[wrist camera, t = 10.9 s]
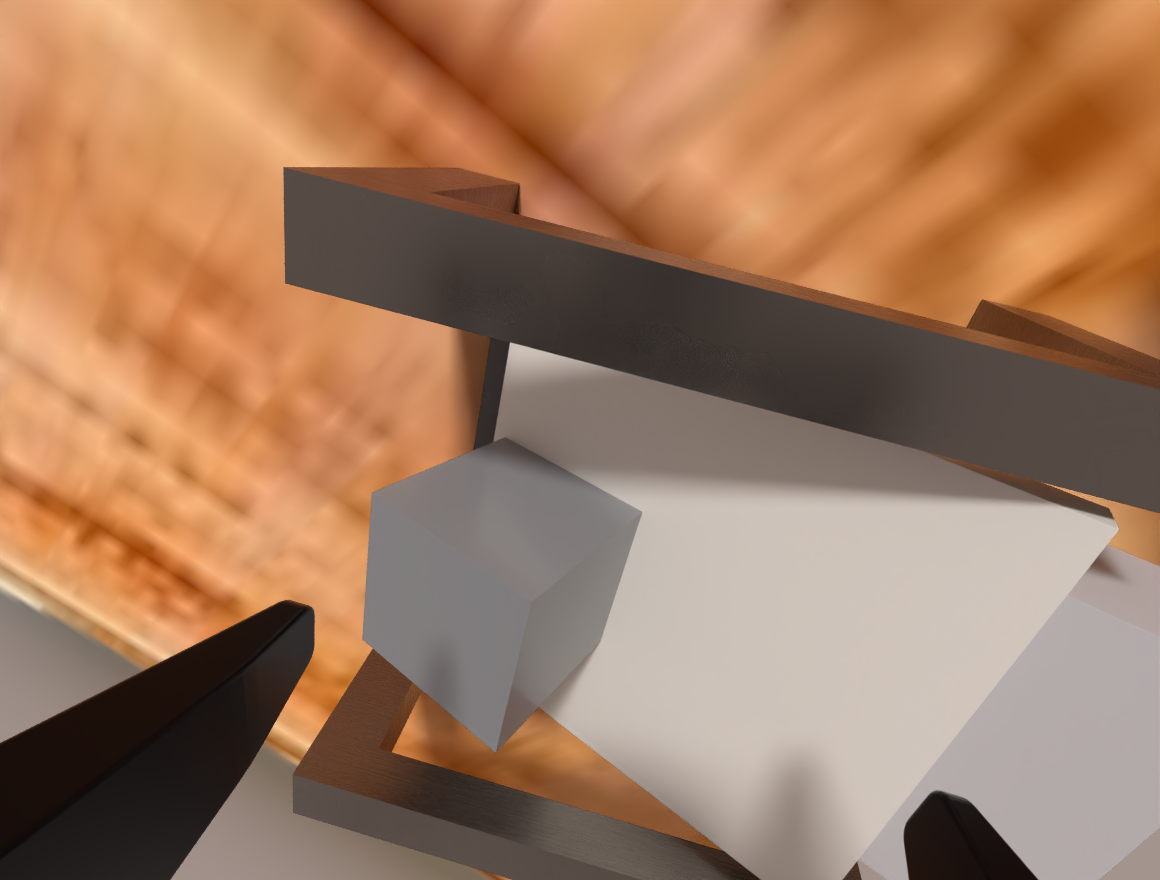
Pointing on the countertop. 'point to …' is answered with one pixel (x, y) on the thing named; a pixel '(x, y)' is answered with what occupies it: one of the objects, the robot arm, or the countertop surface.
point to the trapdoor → (850, 634)
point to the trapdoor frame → (692, 361)
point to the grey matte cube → (492, 581)
